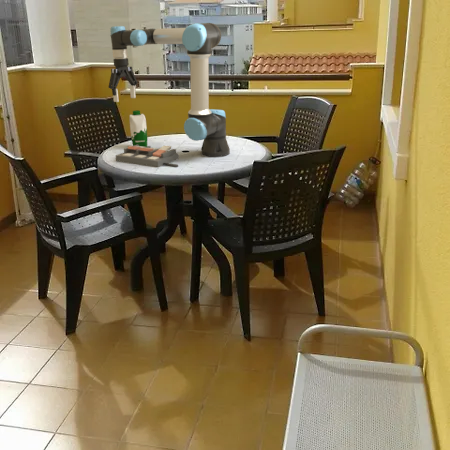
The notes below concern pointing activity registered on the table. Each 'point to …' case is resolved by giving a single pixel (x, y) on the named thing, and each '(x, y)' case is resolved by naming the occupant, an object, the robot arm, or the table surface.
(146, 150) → the middle rocker
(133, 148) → the rocker
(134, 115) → the milk carton
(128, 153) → the power strip
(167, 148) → the rocker
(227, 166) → the table surface
